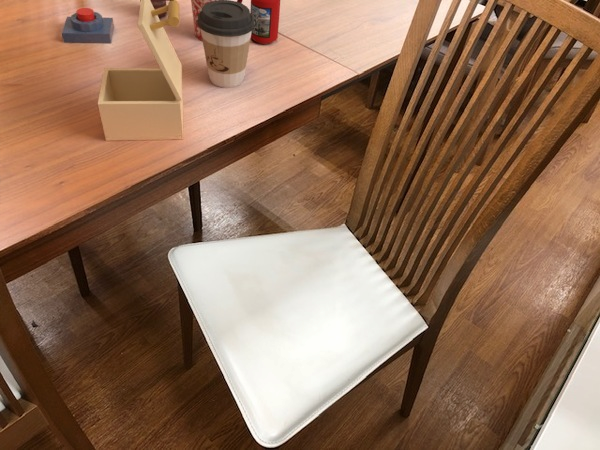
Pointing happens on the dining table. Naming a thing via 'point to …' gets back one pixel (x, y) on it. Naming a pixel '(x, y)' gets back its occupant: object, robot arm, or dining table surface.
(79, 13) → the button
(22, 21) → the dining table surface
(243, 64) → the coffee cup
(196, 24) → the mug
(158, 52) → the lid
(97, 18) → the button box
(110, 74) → the chest
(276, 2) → the beverage can
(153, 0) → the can
